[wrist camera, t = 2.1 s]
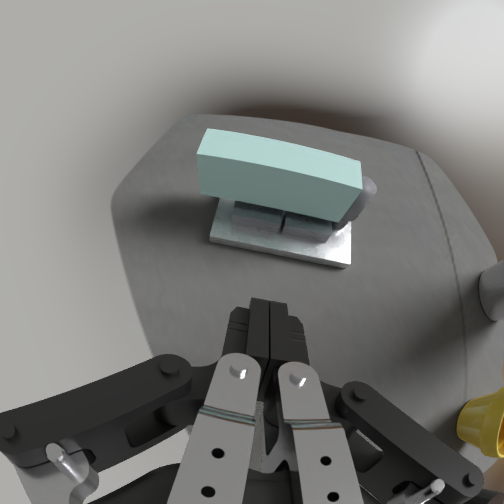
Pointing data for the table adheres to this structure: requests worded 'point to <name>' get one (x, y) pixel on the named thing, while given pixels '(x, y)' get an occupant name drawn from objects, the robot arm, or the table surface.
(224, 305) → the table surface
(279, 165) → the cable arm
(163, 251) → the table surface
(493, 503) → the deodorant
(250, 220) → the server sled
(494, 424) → the plant pot
